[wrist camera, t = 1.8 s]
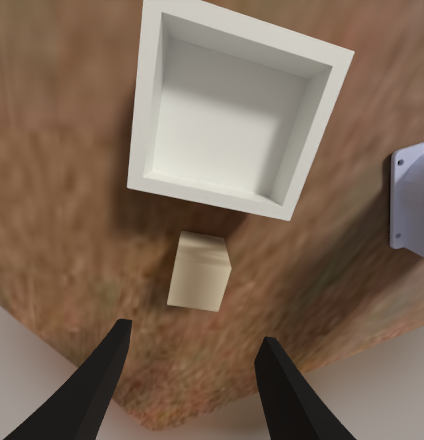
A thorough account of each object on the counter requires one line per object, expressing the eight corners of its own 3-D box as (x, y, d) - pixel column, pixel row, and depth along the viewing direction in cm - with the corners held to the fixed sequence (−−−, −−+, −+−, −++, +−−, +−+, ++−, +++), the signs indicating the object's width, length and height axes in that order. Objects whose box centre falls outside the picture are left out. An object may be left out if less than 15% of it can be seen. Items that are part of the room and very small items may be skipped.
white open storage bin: (304, 79, 15) (354, 51, 10) (265, 198, 18) (289, 221, 13) (164, 37, 14) (145, -19, 9) (148, 173, 17) (127, 187, 12)
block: (223, 237, 20) (231, 268, 15) (214, 273, 21) (218, 311, 16) (181, 230, 19) (175, 259, 14) (174, 266, 21) (166, 304, 16)
